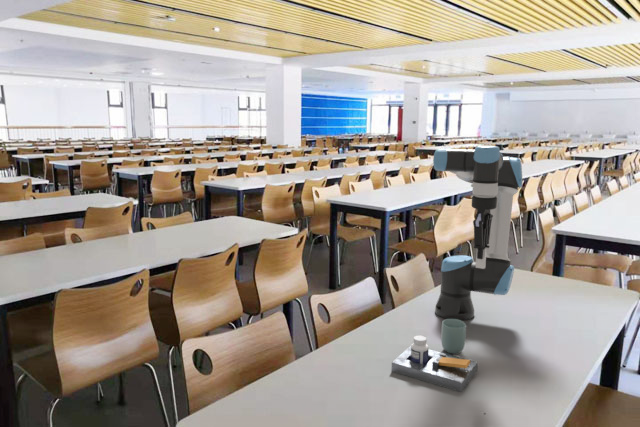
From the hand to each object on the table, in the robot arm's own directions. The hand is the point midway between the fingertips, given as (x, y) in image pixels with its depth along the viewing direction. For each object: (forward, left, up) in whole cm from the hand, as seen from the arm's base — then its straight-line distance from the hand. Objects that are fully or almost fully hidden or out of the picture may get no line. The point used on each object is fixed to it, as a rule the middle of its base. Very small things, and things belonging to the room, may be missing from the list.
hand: (480, 267), depth 166 cm
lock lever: (+19, -1, -26) cm, 32 cm away
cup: (+2, -7, -30) cm, 31 cm away
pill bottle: (+19, -12, -30) cm, 37 cm away
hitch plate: (+19, -7, -30) cm, 36 cm away
